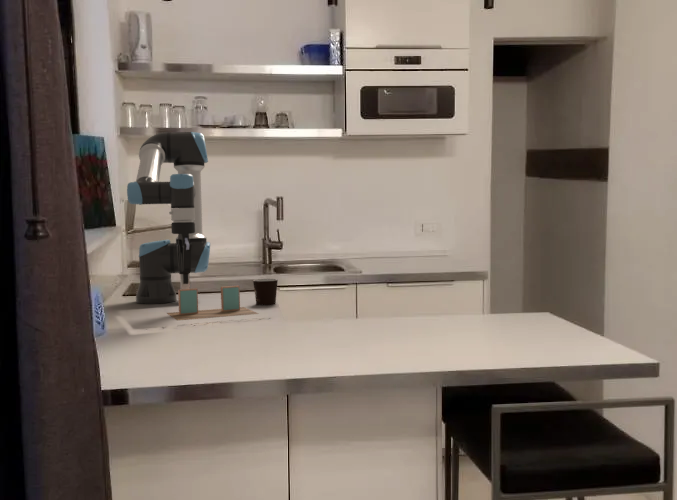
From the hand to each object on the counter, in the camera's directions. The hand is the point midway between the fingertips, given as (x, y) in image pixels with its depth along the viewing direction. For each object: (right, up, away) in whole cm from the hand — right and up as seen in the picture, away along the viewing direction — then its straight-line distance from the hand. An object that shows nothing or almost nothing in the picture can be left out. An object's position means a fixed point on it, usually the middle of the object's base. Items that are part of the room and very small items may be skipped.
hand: (185, 293), depth 233 cm
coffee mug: (+25, -6, +19) cm, 32 cm away
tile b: (+14, -6, +3) cm, 16 cm away
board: (+9, -8, -3) cm, 12 cm away
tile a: (+2, -6, -3) cm, 7 cm away
